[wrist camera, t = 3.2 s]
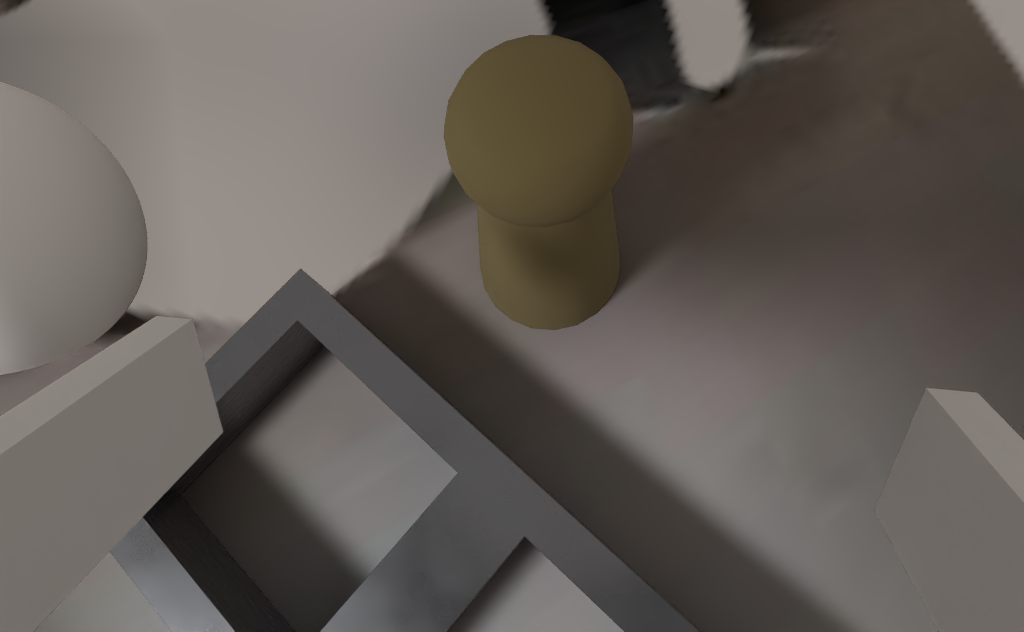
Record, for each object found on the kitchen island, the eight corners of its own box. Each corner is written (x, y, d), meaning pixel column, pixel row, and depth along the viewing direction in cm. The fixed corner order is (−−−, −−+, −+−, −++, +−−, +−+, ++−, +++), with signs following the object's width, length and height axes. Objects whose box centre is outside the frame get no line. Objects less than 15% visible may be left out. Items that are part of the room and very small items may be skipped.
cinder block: (130, 498, 23) (69, 498, 21) (331, 294, 25) (300, 268, 22) (563, 1034, 17) (561, 1141, 14) (786, 709, 19) (824, 746, 16)
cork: (650, 269, 24) (711, 95, 14) (540, 358, 23) (515, 247, 13) (558, 176, 26) (549, -41, 16) (453, 256, 25) (370, 86, 15)
